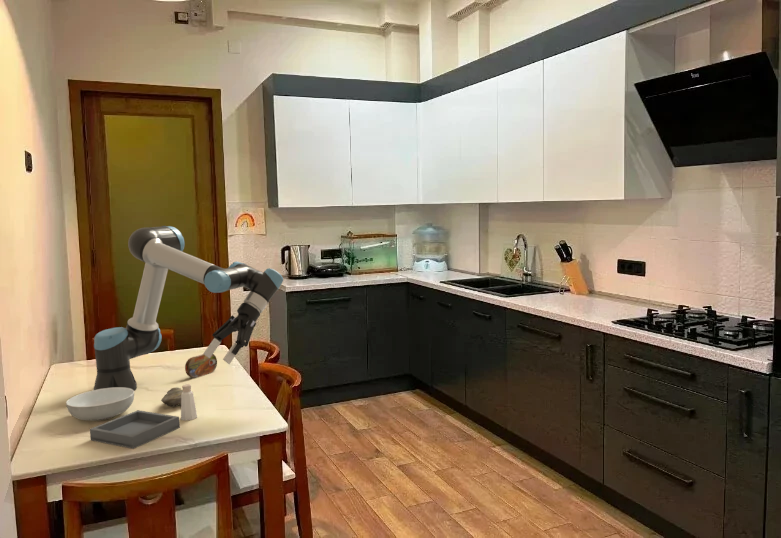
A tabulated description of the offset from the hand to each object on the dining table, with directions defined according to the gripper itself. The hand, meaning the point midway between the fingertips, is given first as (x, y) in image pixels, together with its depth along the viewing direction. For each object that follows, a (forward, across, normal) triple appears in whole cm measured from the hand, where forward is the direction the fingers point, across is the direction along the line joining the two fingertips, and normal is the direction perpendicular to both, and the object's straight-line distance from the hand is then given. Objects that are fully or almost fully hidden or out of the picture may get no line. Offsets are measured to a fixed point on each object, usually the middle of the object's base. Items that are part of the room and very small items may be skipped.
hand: (215, 358), depth 210 cm
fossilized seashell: (+18, +17, -7) cm, 26 cm away
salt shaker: (+20, 0, -5) cm, 21 cm away
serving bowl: (+33, +26, +9) cm, 43 cm away
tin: (0, +47, -24) cm, 53 cm away
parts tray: (+32, -1, +8) cm, 33 cm away
